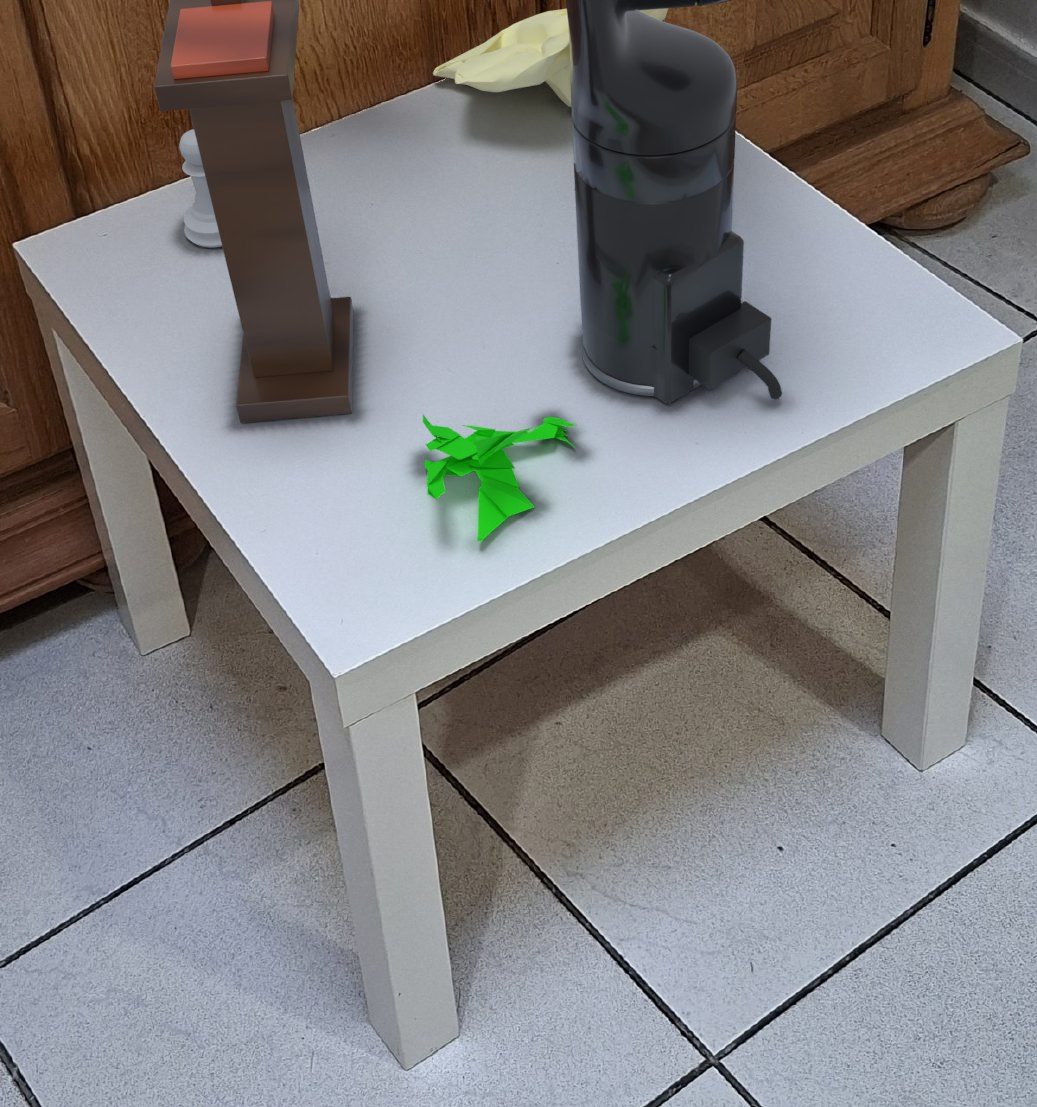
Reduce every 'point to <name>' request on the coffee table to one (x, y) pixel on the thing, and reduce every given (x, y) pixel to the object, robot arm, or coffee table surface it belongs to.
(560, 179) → the coffee table surface
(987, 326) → the coffee table surface
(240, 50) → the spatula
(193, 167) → the chess piece
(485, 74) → the cloth
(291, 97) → the wooden pedestal stand
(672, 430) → the coffee table surface
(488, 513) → the figurine
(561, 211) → the coffee table surface
